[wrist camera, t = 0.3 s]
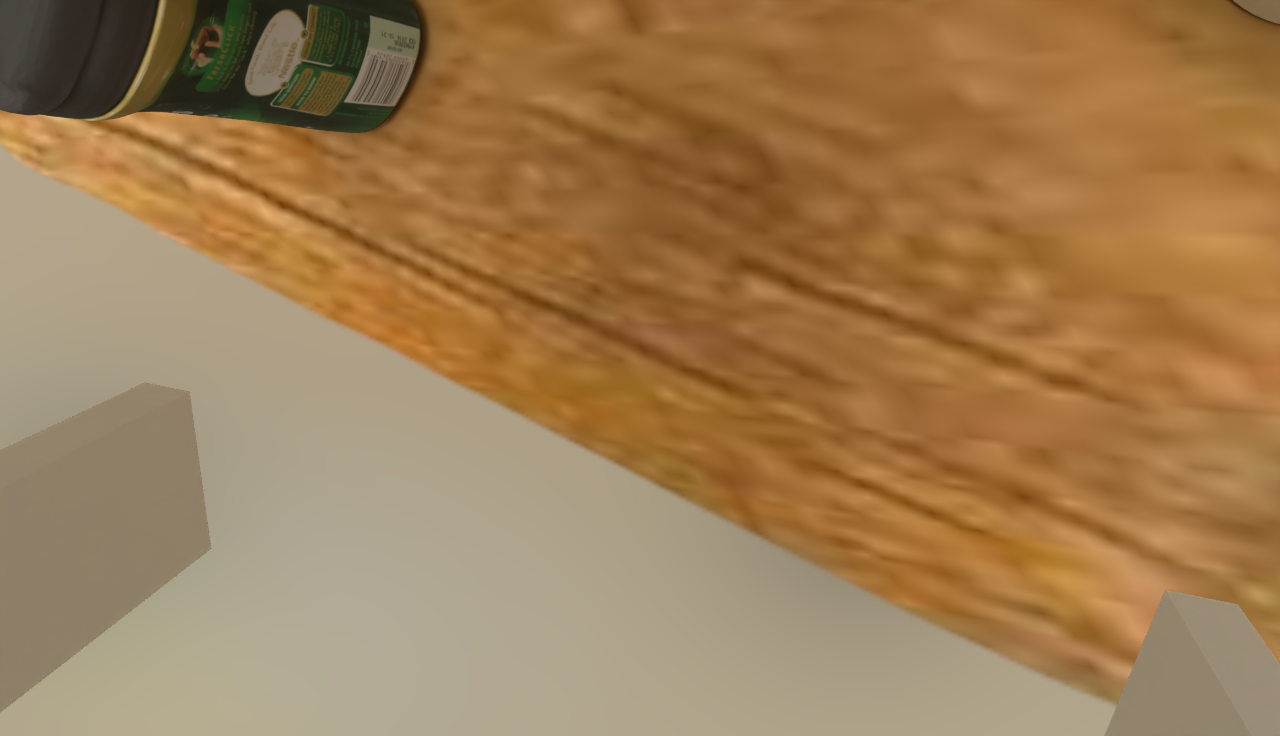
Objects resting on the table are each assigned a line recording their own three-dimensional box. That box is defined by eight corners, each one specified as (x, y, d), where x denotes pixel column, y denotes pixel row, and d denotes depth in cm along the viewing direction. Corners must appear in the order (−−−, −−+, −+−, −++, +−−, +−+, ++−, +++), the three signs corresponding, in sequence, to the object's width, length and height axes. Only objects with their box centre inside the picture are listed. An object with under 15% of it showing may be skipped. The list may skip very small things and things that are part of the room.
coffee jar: (238, 52, 41) (-238, -28, 24) (298, -98, 38) (-194, -312, 21) (381, 163, 40) (-7, 163, 23) (454, 18, 37) (72, -108, 20)
